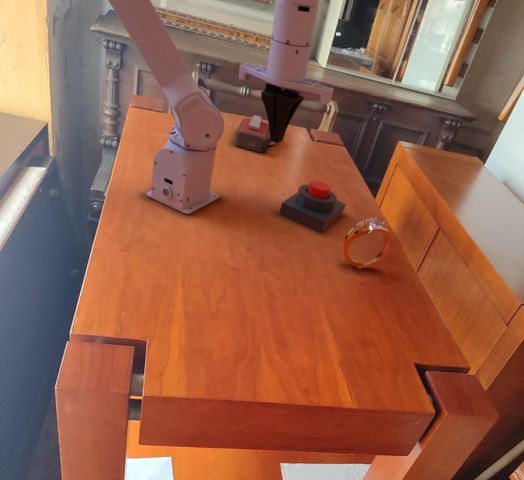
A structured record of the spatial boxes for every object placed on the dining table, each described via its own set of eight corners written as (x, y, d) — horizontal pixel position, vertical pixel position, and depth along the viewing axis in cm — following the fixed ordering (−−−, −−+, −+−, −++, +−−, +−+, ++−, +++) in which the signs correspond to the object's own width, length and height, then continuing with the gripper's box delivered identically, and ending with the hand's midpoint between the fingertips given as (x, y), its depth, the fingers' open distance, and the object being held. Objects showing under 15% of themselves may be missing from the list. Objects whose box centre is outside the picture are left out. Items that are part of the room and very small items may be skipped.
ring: (337, 269, 72) (356, 220, 67) (334, 258, 74) (351, 209, 69) (381, 276, 73) (403, 229, 68) (377, 265, 76) (397, 218, 70)
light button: (322, 202, 80) (325, 192, 79) (303, 194, 81) (306, 184, 80) (330, 196, 83) (333, 186, 82) (311, 188, 84) (314, 178, 83)
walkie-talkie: (272, 158, 101) (280, 130, 117) (277, 136, 98) (285, 111, 114) (231, 147, 101) (245, 121, 116) (235, 125, 98) (248, 101, 113)
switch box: (321, 233, 80) (328, 210, 77) (278, 214, 82) (284, 192, 79) (341, 215, 87) (349, 194, 84) (302, 198, 89) (308, 177, 86)
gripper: (348, 50, 69) (327, 147, 78) (259, 27, 73) (248, 122, 82) (330, 56, 64) (309, 159, 73) (235, 31, 68) (227, 131, 77)
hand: (276, 140), depth 77 cm, fingers closed
